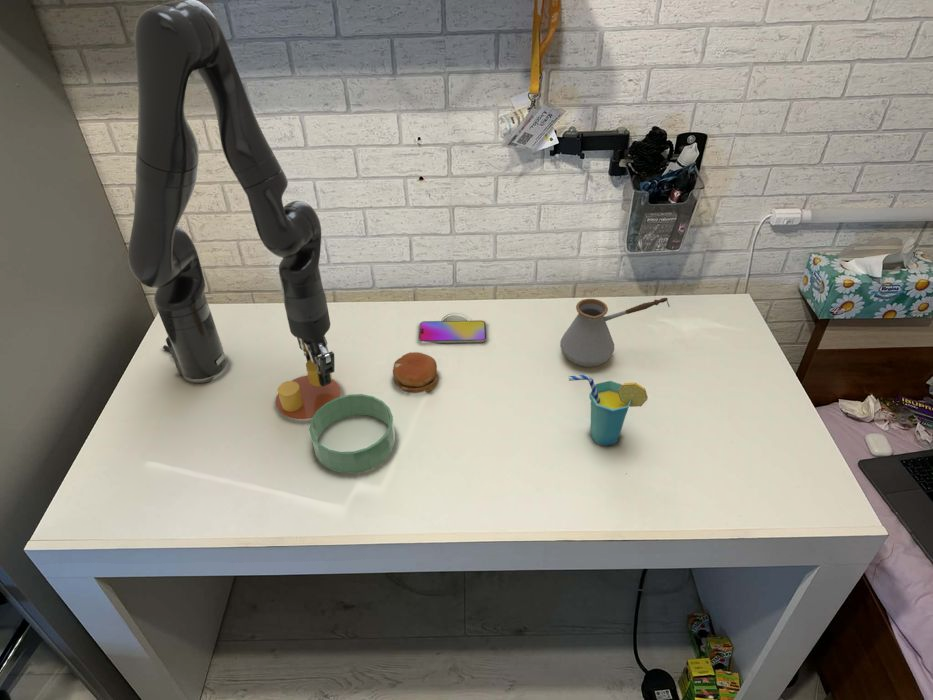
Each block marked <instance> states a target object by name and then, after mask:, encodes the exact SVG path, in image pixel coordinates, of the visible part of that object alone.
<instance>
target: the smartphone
mask: <svg viewBox="0 0 933 700" xmlns="http://www.w3.org/2000/svg"><path fill="white" fill-rule="evenodd" d="M486 327H487V326H486V321H484V320H430V321H429V320H428V321H427V320H424V321H420V323H419V333H418V341H419V342H424V343H430V344H450V343H451V344H453V343H454V344H458V343H460V344H462V343H484V342H486V340H487V330H486Z"/></svg>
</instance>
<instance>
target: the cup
mask: <svg viewBox="0 0 933 700" xmlns="http://www.w3.org/2000/svg"><path fill="white" fill-rule="evenodd" d="M568 381H569V382H571V381H573V382H574V381H587V382H588V383H589V387H590V390H591V391H590V392H589V399H590V437H591V438H592V440H593V442H594V443H595V444H598V445H601V446H603V447H609V446H612V445H616V444H617V442H618V440H619V438H620V436H621V432H622V430H623V429H622V428H623V426H624V422H625V419H626V416H627V414H628V410H629V408H632V407H633V408H634V407H642V406H643V405H644V404H645V403H646V402H647V401H648V394H647V390H646V388H645V387H644V386H642V385H640V384H638V383H637V382H625V383H623V384H622V383H618V382H615V381H612V380H608V381H604V382H599V383H595V381H594V379H593V377H591V376H590V375H589V374H578V375H577V374H576V375H569V376H568Z"/></svg>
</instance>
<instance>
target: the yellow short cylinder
mask: <svg viewBox="0 0 933 700" xmlns="http://www.w3.org/2000/svg"><path fill="white" fill-rule="evenodd" d="M319 356H320V355H318V356H317V357H319ZM315 358H316V357H315ZM319 365H320V363H319ZM305 369H306V374H307V375H308V379H309V382H310V384H312V385H314V386H321V385H320V383H319V378H318V373H317V369H316V366H315V364H314V363H313V362H312V361H311V359H309V360H308V361H307V360H306V363H305ZM330 376H331V379H333V373H330Z"/></svg>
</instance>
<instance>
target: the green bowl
mask: <svg viewBox="0 0 933 700" xmlns="http://www.w3.org/2000/svg"><path fill="white" fill-rule="evenodd" d="M360 415H362V416H363V415H364V416H369V417H374V418H376V419H378V420H381V421H382V422H384V423H385V425H386V426H387V429H386V431H385V433H384V434H383V435H382V436H381V437H380V438H379V439H378V440H377V441H376V442H375V443H373V444H371V445H369V446H367V447H365V448H362V449H358V450H354V451H340V450H339V451H338V450H334V449H329V448H328V447H326V446H325V445H324V446H323V445H322V444H320V442H319V438H320V437H321V435H322V433H323V432H324V430H325V429H327V428H328V427H329V426H330V425H331V424H333V423H334V422H336V421H338V420H341V419H343V418H346V417H350V416H360ZM393 417H394V416H393V413H392V411H391V408H390V406H388V405H387V404H386V403H385V402H384V401H383V400H382V399H380V398H378V397H376V396H373V395H368V394H363V393H357V394H356V393H355V394H346V395H342V396H340V397H338V398H335V399H333V400H331V401H329V402H327V403H325V404H324V405H323V406H322V407H321V408H320V409H318V410H317V411H316V413H315V414H314V416H313V418H310V423H309V428H308V430H309V434H310V438H311V442H312V447H313V450H314V454H315V457H316V459H317V460H318V461H319V463H320V464H321V465H322V466H324V467H325V468H327V469H329V470H331V471H333V472H338V473H342V474H351V473H353V474H355V473H360V472H361V473H362V472H365V471H367V470H371V469H372V468H374V467H377V466H378V465H379V464H381V463H383V462H384V461H385V460H386V459H387V458H388V456H390V455H391V453H392V451H393V449H394V447H395V444H396V431H395V423H394V418H393Z"/></svg>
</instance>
